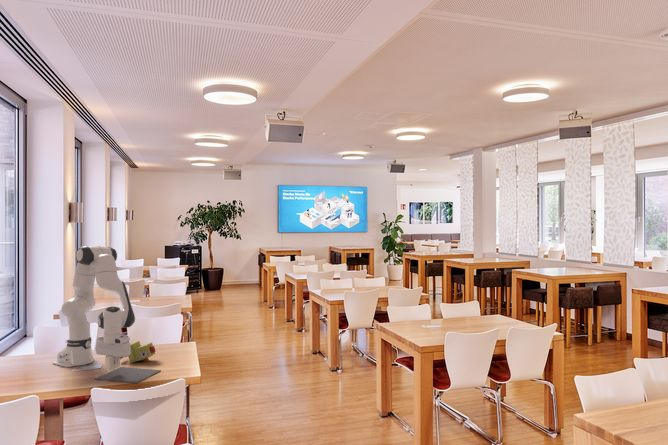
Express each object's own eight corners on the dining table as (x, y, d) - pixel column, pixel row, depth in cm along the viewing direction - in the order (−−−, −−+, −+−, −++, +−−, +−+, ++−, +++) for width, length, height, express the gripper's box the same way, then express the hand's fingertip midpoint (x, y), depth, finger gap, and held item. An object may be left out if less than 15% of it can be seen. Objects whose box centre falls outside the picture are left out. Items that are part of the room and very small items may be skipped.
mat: (94, 379, 256) (94, 378, 256) (121, 367, 275) (121, 366, 275) (136, 383, 249) (136, 382, 249) (160, 371, 268) (160, 370, 268)
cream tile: (105, 370, 256) (105, 357, 256) (116, 366, 264) (116, 353, 264) (109, 370, 256) (109, 357, 256) (120, 366, 263) (120, 353, 263)
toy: (121, 369, 283) (153, 360, 281) (115, 349, 283) (146, 340, 281) (129, 364, 293) (160, 355, 291) (123, 345, 293) (154, 336, 291)
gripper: (92, 337, 260) (92, 363, 260) (124, 341, 254) (124, 367, 254) (101, 335, 266) (101, 360, 266) (132, 338, 260) (132, 363, 260)
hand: (112, 363), depth 260 cm, fingers closed on cream tile, 2 cm apart
